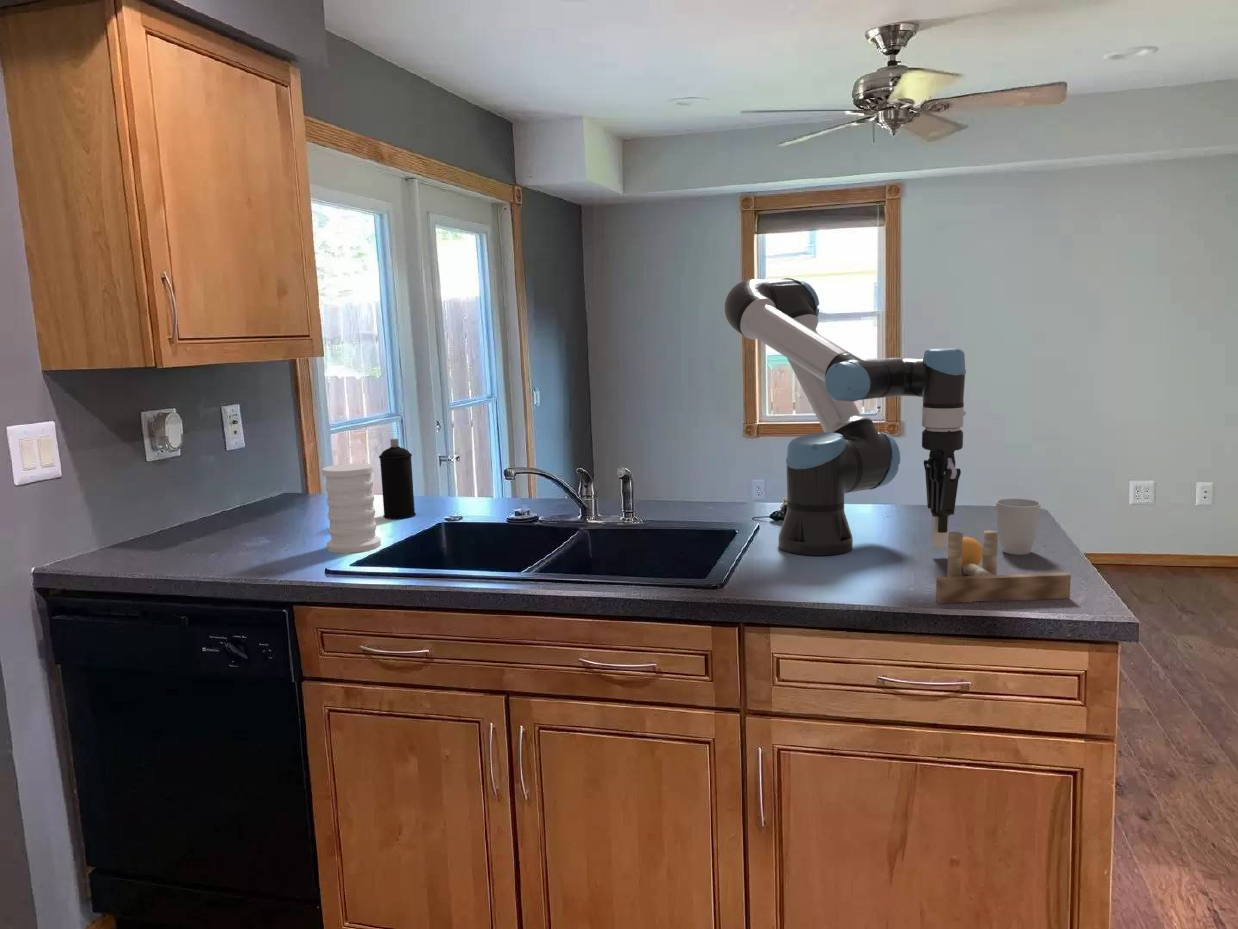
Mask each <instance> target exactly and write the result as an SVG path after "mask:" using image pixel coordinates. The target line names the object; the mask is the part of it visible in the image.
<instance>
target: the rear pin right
mask: <svg viewBox="0 0 1238 929" xmlns="http://www.w3.org/2000/svg"><path fill="white" fill-rule="evenodd" d="M963 537H964V534H963V532H959V531H948V548H947V568H946V569H947V571H946V572H947V574H946V577H961V576H962V573H963V568H962V542H963Z"/></svg>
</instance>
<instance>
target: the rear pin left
mask: <svg viewBox="0 0 1238 929" xmlns="http://www.w3.org/2000/svg"><path fill="white" fill-rule="evenodd" d="M982 541H983V543H982V549H983V557H982V566H981V568H983V569H985V570H987V571H988V572H990V573H992V574H994V575H998V573H997V570H998V546H999V544H998V543H999V534H998V531H996V530H984V531H983V540H982Z"/></svg>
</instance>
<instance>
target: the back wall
mask: <svg viewBox="0 0 1238 929" xmlns="http://www.w3.org/2000/svg"><path fill="white" fill-rule="evenodd" d="M1071 578H1072V575H1071V574H1070V573H1069V572H1047V573H1046V572H1043V573H1042V572H1041V573H1040V572H1039V573H1019V574H997V575H987V576H968V575H967V576H962V575H961V577H947V576H943V577H941V576H940V577H939V576H938V577H936V580H935V581H936V583H935V584H936V586H935V588H936V590H935V601H936V602H937V603H938V604H955V603H956V604H957V603H958V602H959V603H960V602H961V603H981V602H982V601H986V602H1004V601H1005V602H1009V601H1028V600H1029V601H1031V600H1032V601H1033V600H1034V601H1035V600H1057V599H1058V600H1060V599H1063V600H1064V599H1070V597H1071V581H1072V580H1071ZM973 601H975V602H973ZM976 601H978V602H976ZM979 601H981V602H979ZM961 603H960V604H961Z"/></svg>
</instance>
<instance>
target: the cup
mask: <svg viewBox="0 0 1238 929" xmlns="http://www.w3.org/2000/svg"><path fill="white" fill-rule="evenodd" d="M995 503H996V507H995V508H996V509H995V510H996V526H997V532H998V541H999V543H1000V545H1001V550H1002V553H1003V552H1004V553H1006V554H1010V555H1018V556H1019V555H1020V556H1021V555H1029V554H1030V553H1031V551H1032V548H1033V546H1034V543H1035V542H1036V536H1037V534H1038V533H1037V532H1038V527H1039V522H1040V513H1041V502H1039V501H1036V500H1033V499H1026V498H1002V499H997V500H996V501H995Z"/></svg>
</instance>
